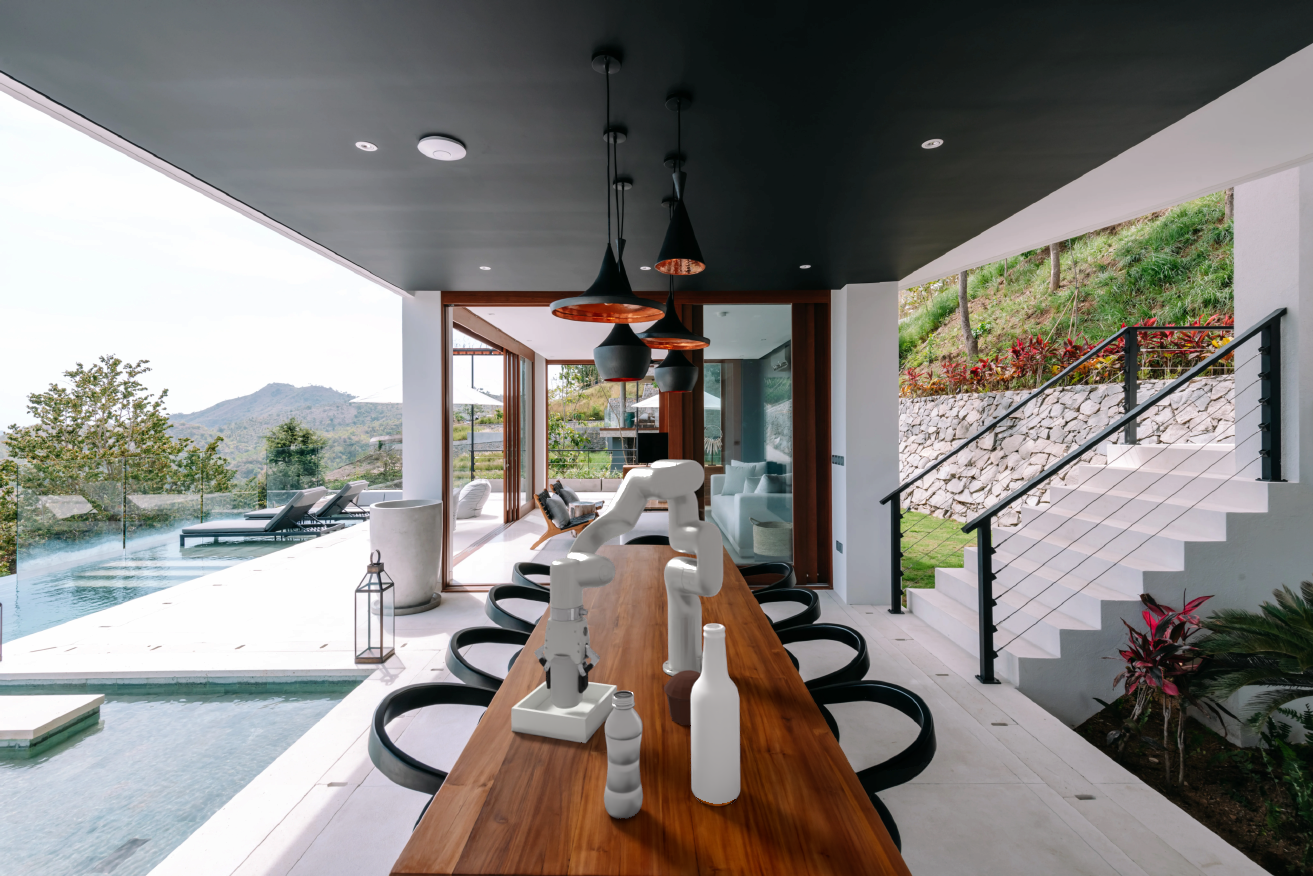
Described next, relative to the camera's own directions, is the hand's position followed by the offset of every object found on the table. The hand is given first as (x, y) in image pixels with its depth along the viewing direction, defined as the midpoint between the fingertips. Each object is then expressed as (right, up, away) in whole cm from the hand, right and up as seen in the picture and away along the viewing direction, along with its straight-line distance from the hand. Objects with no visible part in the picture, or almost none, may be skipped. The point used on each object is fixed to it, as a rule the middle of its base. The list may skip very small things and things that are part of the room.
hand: (566, 688), depth 131 cm
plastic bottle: (+15, -6, -35) cm, 38 cm away
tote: (0, -7, 0) cm, 7 cm away
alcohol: (+32, -6, -29) cm, 43 cm away
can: (0, -4, 0) cm, 4 cm away
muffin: (+28, -7, 0) cm, 29 cm away
